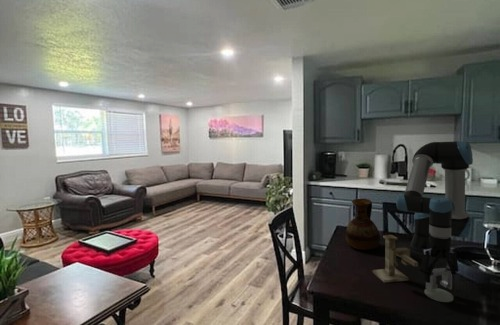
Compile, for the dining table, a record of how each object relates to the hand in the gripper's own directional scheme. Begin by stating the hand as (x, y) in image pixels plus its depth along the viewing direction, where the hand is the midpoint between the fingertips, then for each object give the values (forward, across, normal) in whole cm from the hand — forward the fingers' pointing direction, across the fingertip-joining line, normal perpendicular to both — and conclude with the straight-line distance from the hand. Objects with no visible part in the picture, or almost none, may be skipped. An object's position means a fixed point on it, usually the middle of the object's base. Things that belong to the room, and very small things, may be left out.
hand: (438, 288), depth 114 cm
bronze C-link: (-6, +10, -11) cm, 16 cm away
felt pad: (+3, 0, 0) cm, 3 cm away
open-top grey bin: (-1, 0, 0) cm, 1 cm away
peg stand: (+3, +10, -12) cm, 16 cm away
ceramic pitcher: (+3, +4, -55) cm, 55 cm away
